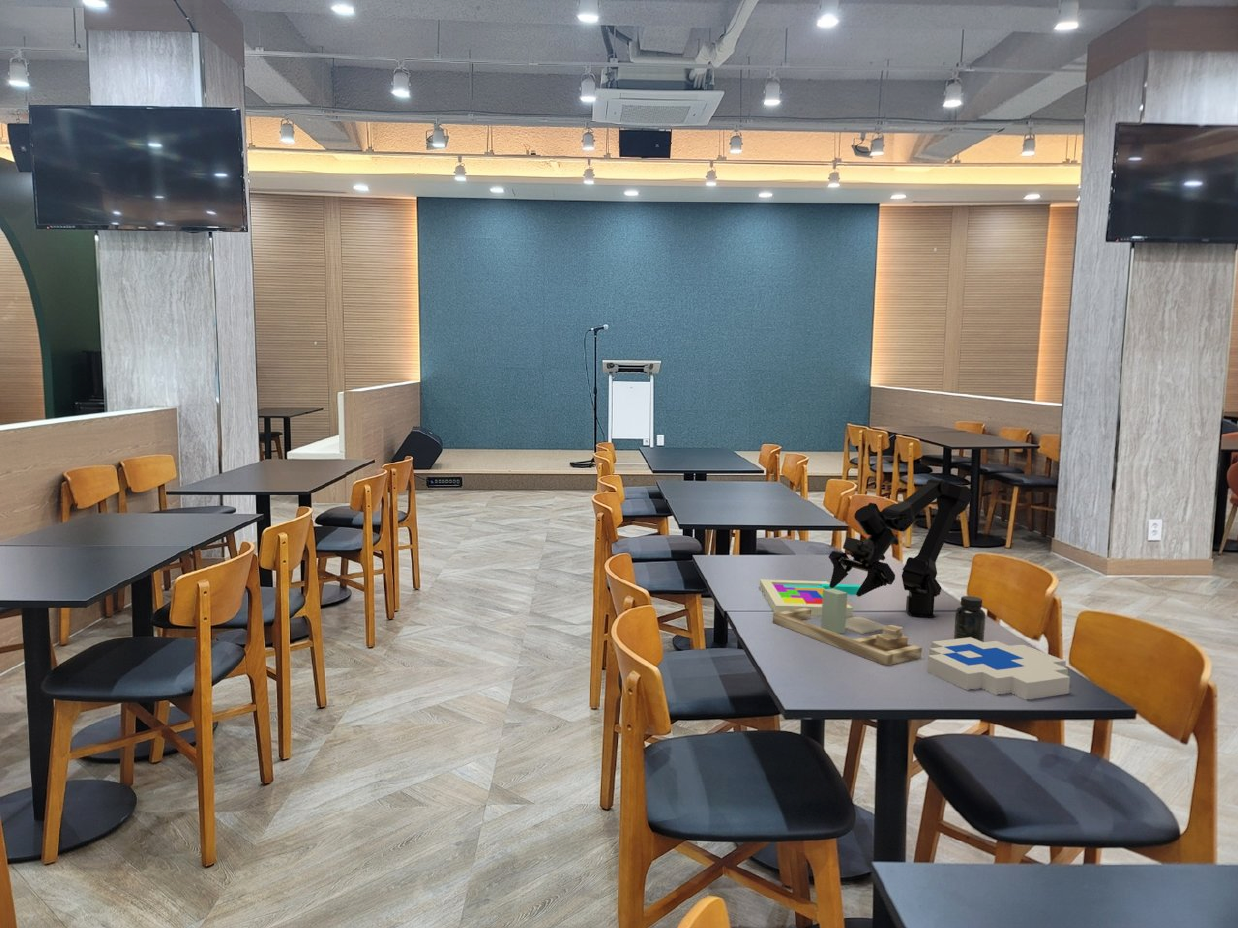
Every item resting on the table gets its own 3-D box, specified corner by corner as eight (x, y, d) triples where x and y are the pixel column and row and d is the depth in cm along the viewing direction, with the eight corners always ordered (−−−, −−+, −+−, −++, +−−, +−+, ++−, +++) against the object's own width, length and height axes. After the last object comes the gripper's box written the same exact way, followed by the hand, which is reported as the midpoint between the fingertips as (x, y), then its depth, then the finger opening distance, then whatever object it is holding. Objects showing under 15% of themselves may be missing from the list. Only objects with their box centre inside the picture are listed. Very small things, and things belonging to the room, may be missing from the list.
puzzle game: (775, 616, 232) (884, 619, 232) (775, 605, 232) (885, 609, 231) (759, 588, 262) (856, 591, 262) (759, 579, 262) (857, 582, 261)
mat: (858, 617, 231) (858, 616, 231) (890, 628, 222) (890, 626, 222) (829, 622, 225) (829, 621, 225) (861, 634, 216) (861, 632, 216)
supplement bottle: (973, 641, 213) (976, 594, 212) (989, 649, 206) (992, 601, 205) (948, 641, 212) (951, 594, 210) (963, 650, 205) (966, 602, 204)
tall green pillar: (830, 627, 221) (832, 588, 220) (845, 632, 217) (847, 592, 216) (821, 629, 219) (823, 589, 218) (835, 634, 215) (837, 594, 214)
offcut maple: (890, 632, 204) (890, 624, 204) (902, 635, 202) (902, 627, 202) (882, 636, 201) (883, 628, 201) (894, 639, 199) (895, 631, 199)
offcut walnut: (893, 649, 206) (893, 639, 206) (909, 655, 202) (910, 645, 202) (873, 653, 202) (873, 643, 202) (889, 659, 198) (890, 649, 198)
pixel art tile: (997, 687, 171) (903, 644, 197) (995, 706, 171) (902, 661, 197) (1097, 672, 181) (996, 634, 207) (1095, 690, 181) (995, 650, 207)
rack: (805, 616, 231) (806, 607, 230) (920, 657, 199) (921, 647, 198) (772, 622, 224) (773, 613, 224) (886, 665, 192) (886, 655, 192)
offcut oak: (896, 640, 205) (896, 632, 205) (907, 645, 201) (907, 637, 201) (876, 642, 202) (876, 634, 202) (887, 647, 199) (887, 639, 199)
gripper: (835, 520, 228) (803, 564, 223) (890, 532, 212) (857, 579, 207) (854, 547, 233) (822, 590, 228) (909, 560, 217) (877, 607, 212)
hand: (843, 591), depth 219 cm, fingers open, 9 cm apart
